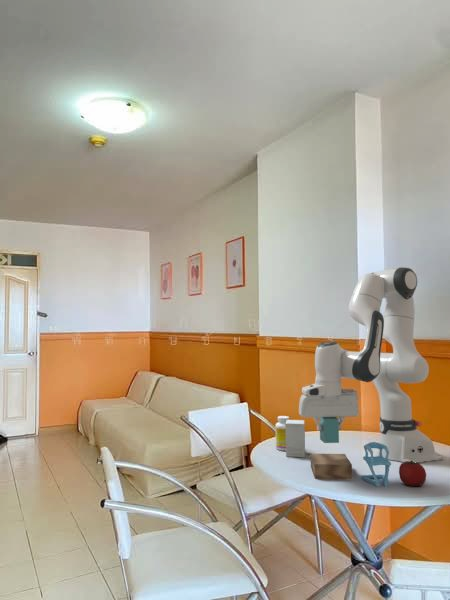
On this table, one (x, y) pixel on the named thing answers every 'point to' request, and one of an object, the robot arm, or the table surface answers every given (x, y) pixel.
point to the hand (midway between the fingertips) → (329, 430)
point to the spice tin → (329, 429)
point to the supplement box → (295, 438)
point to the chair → (376, 463)
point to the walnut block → (331, 466)
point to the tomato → (412, 473)
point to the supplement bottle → (281, 433)
